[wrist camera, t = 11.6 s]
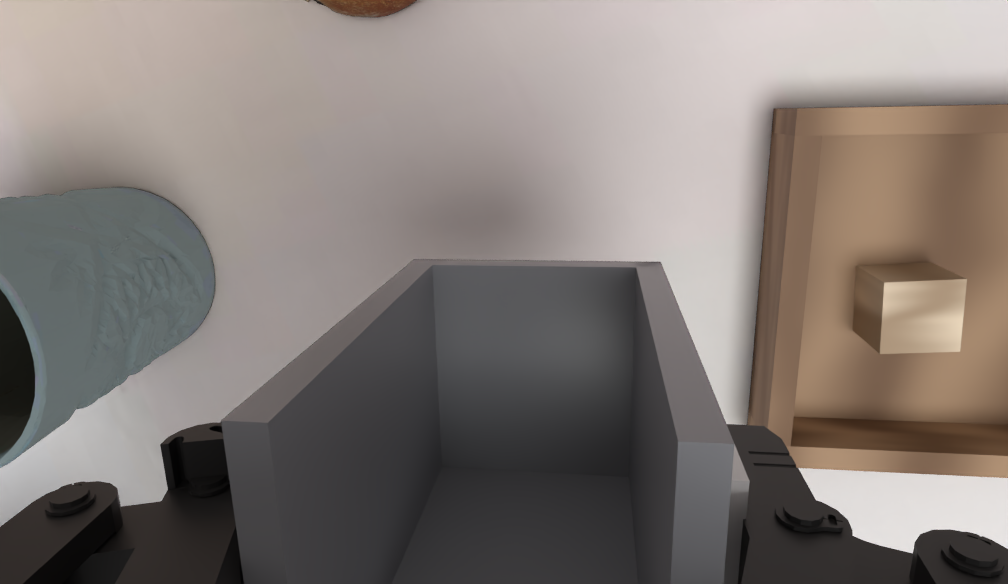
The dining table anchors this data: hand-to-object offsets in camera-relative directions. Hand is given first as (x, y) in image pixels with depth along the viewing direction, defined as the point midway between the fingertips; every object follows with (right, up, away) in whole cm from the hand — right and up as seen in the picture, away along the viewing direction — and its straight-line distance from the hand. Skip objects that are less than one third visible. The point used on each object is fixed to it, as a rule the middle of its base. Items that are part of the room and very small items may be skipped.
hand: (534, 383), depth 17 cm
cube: (+16, 0, +12) cm, 20 cm away
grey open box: (0, 0, 0) cm, 0 cm away
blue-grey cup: (-20, +3, +18) cm, 27 cm away
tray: (+17, +3, +13) cm, 22 cm away
